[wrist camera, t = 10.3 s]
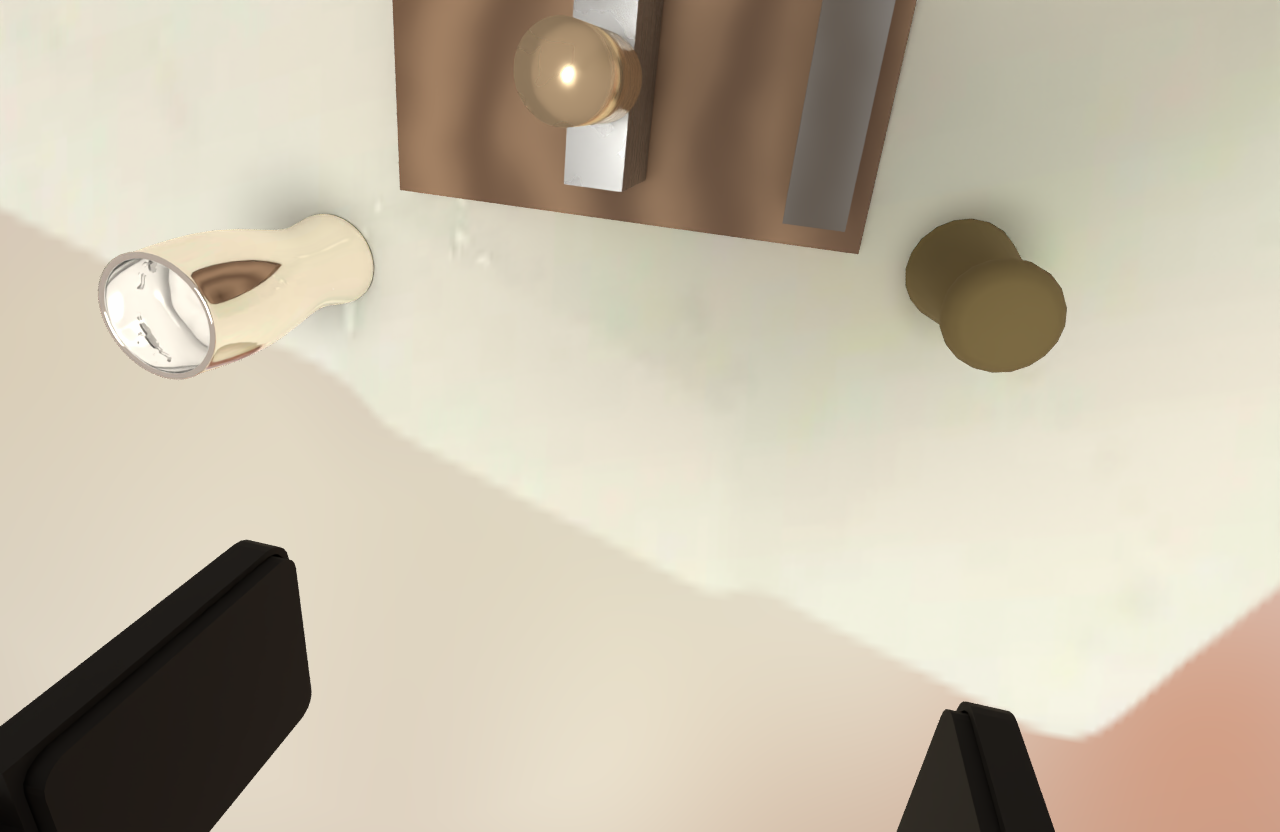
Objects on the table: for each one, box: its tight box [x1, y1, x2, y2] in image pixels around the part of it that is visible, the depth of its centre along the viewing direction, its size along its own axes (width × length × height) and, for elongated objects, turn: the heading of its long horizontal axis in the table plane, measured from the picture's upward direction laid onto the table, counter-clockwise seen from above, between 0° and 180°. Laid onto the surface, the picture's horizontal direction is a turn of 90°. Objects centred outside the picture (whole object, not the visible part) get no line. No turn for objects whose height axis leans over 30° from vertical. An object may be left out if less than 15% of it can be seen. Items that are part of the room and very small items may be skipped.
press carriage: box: [514, 0, 664, 192], centre depth 33 cm, size 4×10×12 cm, turn 175°
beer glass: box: [98, 214, 373, 379], centre depth 42 cm, size 7×7×15 cm
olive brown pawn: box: [906, 219, 1067, 373], centre depth 36 cm, size 6×6×11 cm
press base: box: [393, 0, 917, 254], centre depth 37 cm, size 28×15×8 cm, turn 85°
